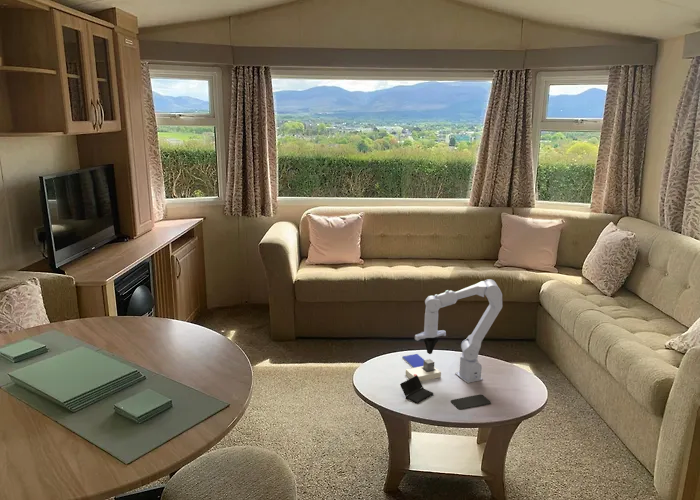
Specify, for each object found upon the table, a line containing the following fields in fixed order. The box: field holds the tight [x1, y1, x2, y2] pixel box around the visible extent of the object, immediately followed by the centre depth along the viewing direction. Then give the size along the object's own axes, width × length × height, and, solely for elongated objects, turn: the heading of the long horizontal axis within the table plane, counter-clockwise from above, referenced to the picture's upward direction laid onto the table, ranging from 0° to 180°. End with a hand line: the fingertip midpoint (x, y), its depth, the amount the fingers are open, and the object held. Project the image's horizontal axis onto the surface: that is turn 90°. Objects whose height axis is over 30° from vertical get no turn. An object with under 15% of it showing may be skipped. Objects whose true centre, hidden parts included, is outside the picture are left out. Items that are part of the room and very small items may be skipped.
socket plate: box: [405, 366, 442, 383], centre depth 236 cm, size 8×13×3 cm, turn 114°
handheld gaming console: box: [399, 376, 435, 405], centre depth 220 cm, size 12×7×10 cm
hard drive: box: [401, 353, 425, 368], centre depth 250 cm, size 2×8×12 cm
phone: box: [450, 393, 492, 411], centre depth 216 cm, size 7×1×15 cm
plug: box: [423, 358, 435, 372], centre depth 238 cm, size 3×3×6 cm
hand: (429, 352), depth 236 cm, fingers closed
